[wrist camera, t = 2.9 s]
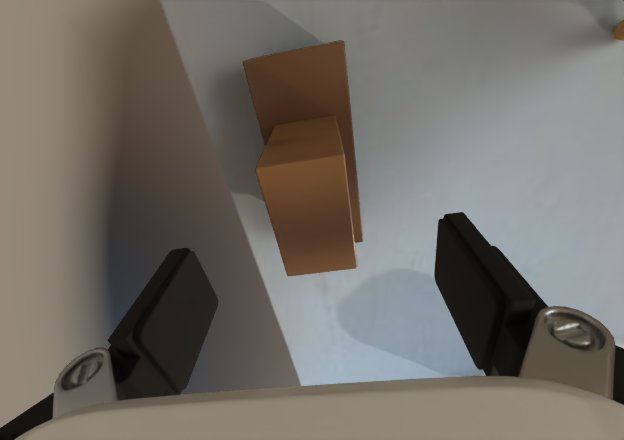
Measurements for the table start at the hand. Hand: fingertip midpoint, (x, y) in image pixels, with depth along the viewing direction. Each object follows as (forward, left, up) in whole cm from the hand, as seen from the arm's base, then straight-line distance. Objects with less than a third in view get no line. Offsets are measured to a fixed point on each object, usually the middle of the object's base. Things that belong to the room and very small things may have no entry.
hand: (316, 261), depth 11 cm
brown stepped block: (0, 0, -12) cm, 12 cm away
